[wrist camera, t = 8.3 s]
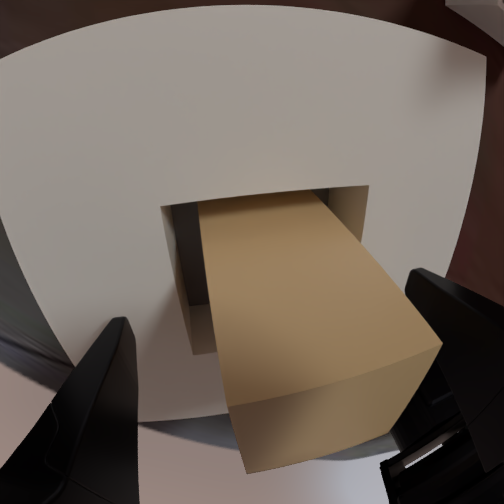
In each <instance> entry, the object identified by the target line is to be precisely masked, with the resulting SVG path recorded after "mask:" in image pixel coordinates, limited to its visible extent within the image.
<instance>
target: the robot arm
mask: <svg viewBox="0 0 504 504" xmlns="http://www.w3.org/2000/svg"><path fill="white" fill-rule="evenodd" d="M405 295H406V297H407V298H408V299H409V300H410V302H411V303H412V304H413V305H414V307H415V308H416V309H417V310H418V312H419V313H420V314H421V315H422V317H423V318H424V319H425V321H426V322H427V323H428V324H429V326H430V327H431V328H432V330H433V331H434V332H435V334H436V335H437V336H438V338H439V339H440V340H441V342H442V343H443V344H442V346H441V348H440V350H439V352H438V354H437V356H436V357H435V359H434V361H433V363H432V365H431V367H430V368H429V370H428V372H427V374H426V375H425V377H424V379H423V380H422V382H421V384H420V385H419V387H418V389H417V390H416V392H415V393H414V395H413V397H412V398H411V400H410V401H409V403H408V404H407V406H406V408H405V409H404V411H403V412H402V414H401V415H400V416H399V418H398V419H397V421H396V422H395V424H394V425H393V426H392V428H391V429H390V432H391V434H392V436H393V438H394V440H395V442H396V444H397V446H398V448H399V450H400V453H399V454H397V455H395V456H394V457H392V458H390V459H388V460H384V461H383V462H381V463H380V470H381V475H382V478H383V481H384V485H385V488H386V492H387V495H388V499H389V504H504V307H503V306H501V305H499V304H497V303H495V302H493V301H491V300H489V299H487V298H485V297H483V296H481V295H479V294H477V293H475V292H473V291H471V290H469V289H467V288H465V287H463V286H461V285H459V284H456V283H454V282H452V281H450V280H448V279H446V278H444V277H442V276H439V275H437V274H435V273H433V272H431V271H428V270H426V269H424V268H421V267H420V268H415V269H412V270H411V271H410V272H409V276H408V279H407V282H406V285H405ZM138 396H139V386H138V371H137V353H136V339H135V335H134V333H133V330H132V328H131V325H130V323H129V320H128V319H127V317H125V316H121V317H114V318H112V319H111V320H110V322H109V323H108V324H107V325H106V327H105V328H104V329H103V331H102V332H101V333H100V335H99V336H98V337H97V339H96V340H95V341H94V343H93V344H92V345H91V347H90V348H89V349H88V351H87V352H86V353H85V355H84V356H83V357H82V359H81V360H80V361H79V363H78V364H77V366H76V367H75V368H74V370H73V371H72V372H71V374H70V375H69V377H68V378H67V379H66V381H65V382H64V384H63V385H62V387H61V388H60V389H59V391H58V392H57V394H56V395H55V397H54V398H53V400H52V401H51V402H52V403H50V404H49V405H48V407H47V408H46V410H45V411H44V413H43V414H42V416H41V417H40V418H39V420H38V421H37V423H36V424H35V425H34V427H33V428H32V430H31V431H30V432H29V433H28V435H27V436H26V437H25V438H24V440H23V441H22V442H21V444H20V445H19V446H18V447H17V448H16V450H15V451H14V452H13V454H12V455H11V456H10V457H9V459H8V460H7V461H6V463H5V464H4V465H3V466H2V467H1V469H0V504H140V502H139V484H138ZM466 425H467V427H468V428H467V429H466V430H464V431H463V432H462V433H460V434H459V435H457V436H456V437H455V438H453V439H452V440H450V441H449V442H448V443H446V444H445V445H443V446H442V447H440V448H439V449H437V450H436V451H434V452H433V453H431V454H429V455H428V456H426V457H425V458H423V459H421V460H420V461H418V462H417V463H415V464H414V465H412V466H410V467H408V468H405V466H406V465H408V464H409V463H411V462H413V461H415V460H416V459H418V458H419V457H421V456H423V455H424V454H426V453H428V452H429V451H431V450H432V449H434V448H435V447H437V446H438V445H440V444H441V443H443V442H444V441H446V440H447V439H448V438H450V437H451V436H453V435H454V434H456V433H457V432H458V431H460V430H461V429H462V428H464V427H465V426H466Z"/></svg>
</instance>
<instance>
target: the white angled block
mask: <svg viewBox="0 0 504 504" xmlns="http://www.w3.org/2000/svg"><path fill="white" fill-rule="evenodd" d="M445 6H447V7H448V8H450V9H452V10H453V11H455V12H456V13H458V14H460V15H461V16H463V17H464V18H466V19H467V20H469V21H470V22H472V23H473V24H474V25H476V26H477V27H479V28H480V29H481V30H483V31H484V32H485V33H487V34H488V35H489V36H491V37H492V38H493V39H495V40H496V41H497V42H498V43H500V44H501V45H502V46H503V47H504V0H445Z"/></svg>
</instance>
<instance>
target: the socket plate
mask: <svg viewBox="0 0 504 504" xmlns="http://www.w3.org/2000/svg"><path fill="white" fill-rule="evenodd" d="M485 85H486V56H484V55H482V54H479V53H477V52H475V51H473V50H470V49H468V48H465V47H463V46H460V45H458V44H455V43H453V42H450V41H447V40H445V39H442V38H439V37H436V36H433V35H430V34H427V33H424V32H421V31H418V30H414V29H411V28H408V27H404V26H400V25H397V24H393V23H389V22H385V21H381V20H376V19H372V18H367V17H362V16H357V15H351V14H346V13H340V12H333V11H326V10H318V9H310V8H300V7H287V6H268V5H223V6H204V7H191V8H181V9H173V10H165V11H158V12H151V13H145V14H140V15H134V16H129V17H124V18H120V19H115V20H111V21H107V22H103V23H99V24H95V25H91V26H88V27H84V28H81V29H77V30H74V31H71V32H68V33H64V34H61V35H58V36H56V37H53V38H50V39H47V40H44V41H42V42H39V43H37V44H34V45H32V46H29V47H27V48H24V49H22V50H20V51H17V52H15V53H13V54H11V55H8V56H6V57H4V58H2V59H0V216H1V219H2V222H3V225H4V228H5V230H6V233H7V236H8V238H9V241H10V243H11V246H12V248H13V251H14V253H15V256H16V258H17V260H18V263H19V265H20V267H21V270H22V272H23V274H24V276H25V278H26V281H27V283H28V285H29V287H30V289H31V291H32V293H33V295H34V297H35V299H36V301H37V303H38V305H39V307H40V309H41V311H42V312H43V314H44V316H45V318H46V320H47V322H48V323H49V325H50V327H51V329H52V330H53V332H54V334H55V336H56V337H57V339H58V341H59V342H60V344H61V346H62V347H63V349H64V350H65V352H66V354H67V355H68V357H69V358H70V360H71V361H72V363H73V365H74V366H75V367H76V366H77V364H78V363H79V361H80V360H81V359H82V357H83V356H84V355H85V353H86V352H87V351H88V349H89V348H90V347H91V345H92V344H93V343H94V341H95V340H96V339H97V337H98V336H99V335H100V333H101V332H102V331H103V329H104V328H105V327H106V325H107V324H108V323H109V322H110V320H111V319H112V318H114V317H121V316H125V317H127V319H128V320H129V323H130V325H131V328H132V330H133V333H134V335H135V339H136V353H137V371H138V386H139V396H138V422H149V421H164V420H176V419H186V418H195V417H204V416H212V415H219V414H226V413H229V412H228V408H227V404H226V398H225V393H224V387H223V381H222V376H221V370H220V364H219V358H218V352H217V346H216V340H215V333H214V327H213V320H212V313H211V307H210V300H209V293H208V286H207V278H206V271H205V263H204V255H203V247H202V239H201V231H200V222H199V213H198V204H197V201H202V200H210V199H218V198H227V197H235V196H244V195H254V194H263V193H273V192H284V191H295V190H306V189H310V190H311V191H312V192H313V193H314V194H315V195H316V196H317V197H318V198H319V199H320V200H321V201H322V202H323V203H324V204H325V205H326V206H327V207H328V208H329V209H330V211H331V212H332V213H333V214H334V215H335V216H336V217H337V218H338V219H339V220H340V221H341V222H342V223H343V224H344V225H345V227H346V228H347V229H348V230H349V231H350V232H351V233H352V234H353V235H354V236H355V237H356V239H357V240H358V241H359V242H360V243H361V244H362V245H363V246H364V247H365V249H366V250H367V251H368V252H369V253H370V254H371V255H372V257H373V258H374V259H375V260H376V261H377V262H378V263H379V265H380V266H381V267H382V268H383V269H384V270H385V272H386V273H387V274H388V275H389V276H390V277H391V279H392V280H393V281H394V282H395V283H396V285H397V286H398V287H399V288H400V289H401V291H402V292H403V293H404V294H405V285H406V282H407V279H408V276H409V272H410V271H411V270H412V269H415V268H420V267H421V268H424V269H426V270H428V271H431V272H433V273H435V274H437V275H439V276H442V277H444V278H445V276H446V273H447V270H448V267H449V264H450V261H451V258H452V255H453V252H454V249H455V246H456V243H457V239H458V236H459V233H460V229H461V226H462V222H463V218H464V215H465V211H466V207H467V203H468V199H469V195H470V190H471V186H472V181H473V176H474V171H475V166H476V161H477V155H478V149H479V142H480V136H481V128H482V120H483V111H484V99H485Z"/></svg>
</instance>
